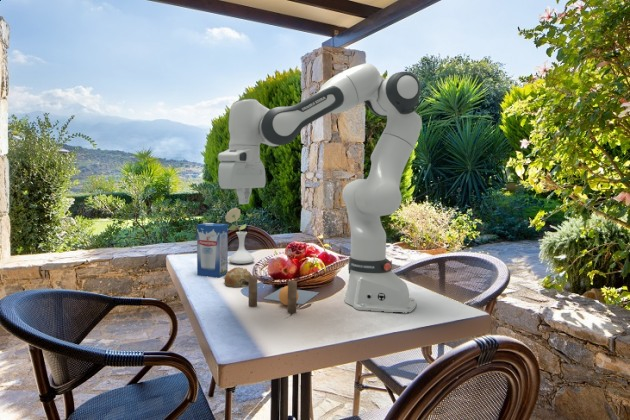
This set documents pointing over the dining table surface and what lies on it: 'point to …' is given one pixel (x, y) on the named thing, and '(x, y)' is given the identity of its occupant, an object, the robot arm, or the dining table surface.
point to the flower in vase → (241, 254)
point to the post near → (292, 296)
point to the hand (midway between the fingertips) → (243, 204)
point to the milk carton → (212, 249)
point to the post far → (252, 291)
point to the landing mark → (302, 299)
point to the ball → (285, 295)
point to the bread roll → (237, 277)
